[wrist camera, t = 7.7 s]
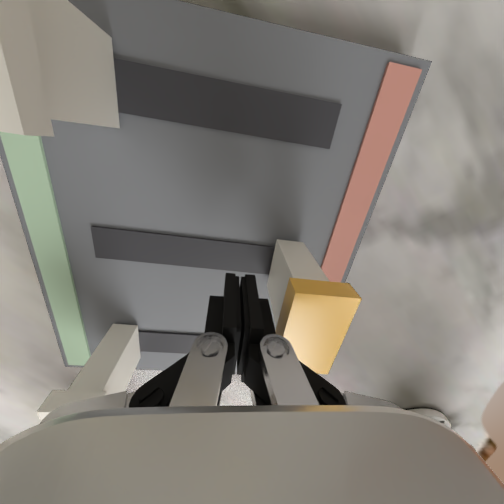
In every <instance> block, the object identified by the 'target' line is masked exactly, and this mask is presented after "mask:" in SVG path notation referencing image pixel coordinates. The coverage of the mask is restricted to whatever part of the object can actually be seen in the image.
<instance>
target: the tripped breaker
mask: <svg viewBox="0 0 504 504" xmlns="http://www.w3.org/2000/svg"><path fill="white" fill-rule="evenodd" d="M267 288H268V293H269V297H270V302H271V306H272V311H273V316H274V320H275V325H276V330H275V331H276V334H277V335H281V336H283V337H284V338H286V339H287V340H288V341H289V342H290V343H291V345H292V347H293V349H294V351H295V353H296V356H297V358H298V360H299V361H301V362H302V363H303V364H305V365H306V366H307V367H309V368H310V369H311V370H313V371H314V372H315V373H317V374H328V373H329V371H330V368H331V366H332V364H333V362H334V359H335V357H336V355H337V353H338V351H339V348H340V346H341V344H342V342H343V339H344V337H345V335H346V333H347V331H348V328H349V326H350V324H351V322H352V319H353V317H354V315H355V313H356V310H357V308H358V306H359V304H360V302H361V297H360V296H359V295H358V294H357V292H356V291H355V290H354V289H353V287H352V286H351V285H350V284H349V283H340V282H330V281H329V279H328V278H327V277H326V275H325V274H324V272H323V271H322V269H321V268H320V266H319V265H318V263H317V262H316V260H315V259H314V257H313V256H312V254H311V253H310V252H309V250H308V249H307V247H306V246H305V244H304V243H303V242H296V241H288V240H279V239H277V240H276V245H275V250H274V254H273V259H272V264H271V268H270V273H269V278H268V282H267Z"/></svg>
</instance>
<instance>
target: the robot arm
mask: <svg viewBox="0 0 504 504" xmlns="http://www.w3.org/2000/svg"><path fill="white" fill-rule="evenodd" d="M236 362H237V374H238V375H241V381H242V382H244V383H245V384H246V385H247V386H248V387H249V388H250V393H251V399H252V403H253V406H220V402H221V397H222V391H223V390H224V389H225V388H226V387H227V386H228V385H229V384H230V383H231V378H232V374H235V368H236ZM0 504H504V484H503V483H502V481H501V480H500V479H499V478H498V476H497V475H496V474H495V473H494V472H493V471H492V469H491V468H490V467H489V466H488V465H487V464H486V462H485V461H484V460H483V459H482V458H481V457H480V455H479V454H478V453H477V452H476V450H475V449H474V447H473V446H472V445H470V444H468V443H467V442H466V441H465V440H464V439H463V438H462V437H461V436H460V435H459V434H457V433H456V432H455V431H453V430H452V429H451V424H450V422H449V421H448V419H447V418H446V417H445V415H444V414H442V413H441V412H439V411H436V410H433V409H423V408H419V409H410V410H404V409H401V408H400V407H399V406H397V405H396V404H394V403H392V402H389V401H386V400H381V399H377V398H373V397H369V396H365V395H360V394H356V393H352V392H348V391H345V392H344V393H340V391H339V390H338V389H337V388H335V387H334V386H333V385H332V384H330V383H329V382H328V381H326V380H325V379H324V378H322V377H321V376H320V375H318V374H317V373H315V372H314V371H313V370H311V369H310V368H309V367H307V366H306V365H305V364H303V363H302V362H301V361H299V360H298V358H297V356H296V353H295V351H294V349H293V347H292V345H291V343H290V342H289V341H288V340H287V339H286V338H284V337H283V336H281V335H277V334H276V331H275V327H274V323H273V318H272V314H271V309H270V305H269V301H268V299H263V298H259V295H258V289H257V283H256V277H255V275H250V274H245V277H242V276H241V281H240V285H239V276H236V275H235V273H226V274H225V285H224V295H223V296H210V297H209V304H208V311H207V318H206V325H205V332H204V333H203V334H201V335H199V336H198V337H197V338H196V339H195V341H194V342H193V345H192V347H191V350H190V352H189V353H188V354H187V355H185V356H184V357H182V358H181V359H180V360H178V361H177V362H175V363H174V364H172V365H171V366H170V367H168V368H167V369H165V370H164V371H162V372H161V373H160V374H158V375H157V376H155V377H154V378H152V379H151V380H150V381H148V382H147V383H145V384H144V385H142V386H141V387H140V388H139V389H138V390H137V391H136V392H132V393H127V391H123V392H119V393H114V394H109V395H105V396H100V397H95V398H91V399H86V400H81V401H76V402H72V403H68V404H65V405H62V406H59V407H58V408H56V409H54V410H53V411H51V412H50V413H49V414H48V415H47V416H46V417H45V418H44V419H43V420H42V421H41V423H40V424H39V425H36V426H34V427H31V428H29V429H27V430H25V431H22V432H20V433H18V434H17V435H15V436H13V437H11V438H9V439H7V440H6V441H4V442H3V443H1V444H0Z"/></svg>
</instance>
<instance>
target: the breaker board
mask: <svg viewBox="0 0 504 504" xmlns="http://www.w3.org/2000/svg"><path fill="white" fill-rule="evenodd" d="M431 62H432V61H429V60H424V59H420V58H416V57H412V56H408V55H404V54H399V53H395V52H391V51H387V50H383V49H379V48H374V47H370V46H366V45H362V44H358V43H354V42H350V41H345V40H341V39H337V38H333V37H329V36H325V35H320V34H316V33H312V32H308V31H304V30H300V29H295V28H291V27H287V26H283V25H279V24H275V23H270V22H266V21H262V20H258V19H254V18H250V17H246V16H241V15H237V14H233V13H229V12H225V11H221V10H216V9H212V8H208V7H204V6H200V5H196V4H191V3H187V2H183V1H179V0H0V156H1V159H2V163H3V166H4V169H5V172H6V176H7V179H8V182H9V185H10V189H11V192H12V195H13V198H14V202H15V205H16V208H17V211H18V215H19V218H20V221H21V224H22V228H23V231H24V234H25V237H26V241H27V244H28V247H29V250H30V254H31V257H32V260H33V263H34V267H35V270H36V273H37V276H38V280H39V283H40V286H41V289H42V293H43V296H44V299H45V302H46V306H47V309H48V312H49V315H50V319H51V322H52V325H53V328H54V332H55V335H56V338H57V341H58V345H59V348H60V351H61V354H62V358H63V361H64V364H65V366H66V367H83V368H82V370H81V371H80V373H79V374H78V375H77V377H76V378H75V380H74V381H73V383H72V384H71V386H70V387H69V389H68V390H67V391H66V390H52V392H51V393H50V394H49V396H48V397H47V399H46V400H45V401H44V403H43V404H42V405H41V407H40V408H39V409H38V411H37V414H38V417H39V419H40V421H42V420H43V419H44V418H45V417H46V416H47V415H48V414H49V413H50V412H51V411H53V410H54V409H56V408H58V407H59V406H62V405H65V404H68V403H72V402H76V401H81V400H86V399H91V398H95V397H100V396H105V395H109V394H114V393H119V392H123V391H126V389H127V387H128V384H129V382H130V380H131V378H132V376H133V373H134V371H135V369H139V370H163V371H164V370H165V369H167V368H168V367H170V366H171V365H172V364H174V363H175V362H177V361H178V360H180V359H181V358H182V357H184V356H185V355H187V354H188V353H189V352H190V350H191V347H192V345H193V342H194V341H195V339H196V338H197V337H198V336H199V335H201V334H203V333H204V332H205V325H206V318H207V311H208V304H209V297H210V296H223V295H224V285H225V274H226V273H235V275H236V276H239V285H240V281H241V276H242V277H245V274H250V275H255V277H256V283H257V289H258V295H259V298H263V299H268V301H269V305H270V309H271V314H272V318H273V323H274V327H275V330H276V325H275V320H274V316H273V311H272V306H271V302H270V297H269V293H268V288H267V282H268V278H269V273H270V268H271V264H272V259H273V254H274V250H275V245H276V240H277V239H279V240H288V241H296V242H303V243H304V244H305V246H306V247H307V249H308V250H309V252H310V253H311V254H312V256H313V257H314V259H315V260H316V262H317V263H318V265H319V266H320V268H321V269H322V271H323V272H324V274H325V275H326V277H327V278H328V279H329V281H330V282H340V283H345V281H346V278H347V276H348V273H349V271H350V268H351V266H352V263H353V260H354V258H355V255H356V253H357V250H358V248H359V245H360V243H361V240H362V238H363V235H364V233H365V230H366V227H367V225H368V222H369V220H370V217H371V215H372V212H373V210H374V207H375V205H376V202H377V199H378V197H379V194H380V192H381V189H382V187H383V184H384V182H385V179H386V177H387V174H388V172H389V169H390V166H391V164H392V161H393V159H394V156H395V154H396V151H397V149H398V146H399V144H400V141H401V138H402V136H403V133H404V131H405V128H406V126H407V123H408V121H409V118H410V116H411V113H412V111H413V108H414V105H415V103H416V100H417V98H418V95H419V93H420V90H421V88H422V85H423V83H424V80H425V77H426V75H427V72H428V70H429V67H430V65H431ZM235 374H237V362H236V368H235Z"/></svg>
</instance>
